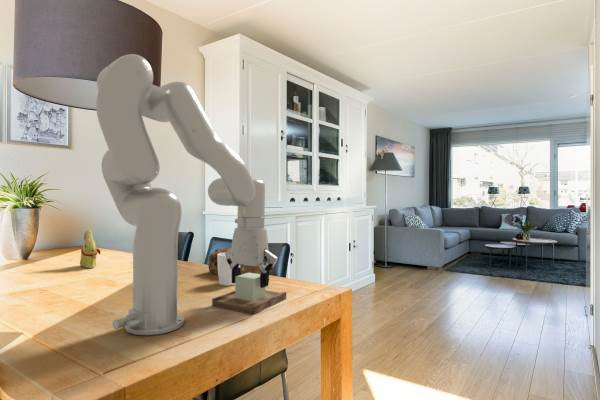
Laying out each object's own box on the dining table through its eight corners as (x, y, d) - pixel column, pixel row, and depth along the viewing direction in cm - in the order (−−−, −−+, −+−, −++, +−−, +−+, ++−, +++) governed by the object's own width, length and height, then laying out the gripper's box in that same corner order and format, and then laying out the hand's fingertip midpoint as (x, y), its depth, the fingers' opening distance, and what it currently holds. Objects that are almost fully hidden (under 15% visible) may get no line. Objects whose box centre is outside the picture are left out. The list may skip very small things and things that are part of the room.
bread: (262, 275, 140) (262, 248, 139) (243, 280, 131) (243, 252, 131) (227, 269, 150) (227, 244, 150) (206, 273, 141) (207, 247, 141)
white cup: (235, 287, 121) (235, 256, 121) (213, 285, 123) (213, 255, 122) (244, 281, 129) (244, 252, 129) (222, 280, 130) (222, 251, 130)
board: (254, 314, 94) (254, 306, 94) (212, 305, 101) (212, 298, 101) (286, 298, 108) (286, 292, 108) (247, 292, 115) (247, 286, 115)
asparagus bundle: (85, 270, 144) (85, 231, 144) (77, 265, 152) (77, 229, 151) (104, 267, 149) (104, 230, 148) (95, 263, 157) (95, 228, 156)
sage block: (253, 301, 100) (253, 279, 100) (235, 298, 103) (235, 276, 103) (265, 295, 106) (265, 274, 105) (248, 293, 108) (248, 272, 108)
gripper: (218, 222, 105) (216, 283, 105) (269, 226, 97) (268, 291, 97) (234, 221, 111) (233, 278, 112) (284, 224, 103) (283, 285, 103)
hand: (249, 284), depth 104 cm, fingers open, 9 cm apart
